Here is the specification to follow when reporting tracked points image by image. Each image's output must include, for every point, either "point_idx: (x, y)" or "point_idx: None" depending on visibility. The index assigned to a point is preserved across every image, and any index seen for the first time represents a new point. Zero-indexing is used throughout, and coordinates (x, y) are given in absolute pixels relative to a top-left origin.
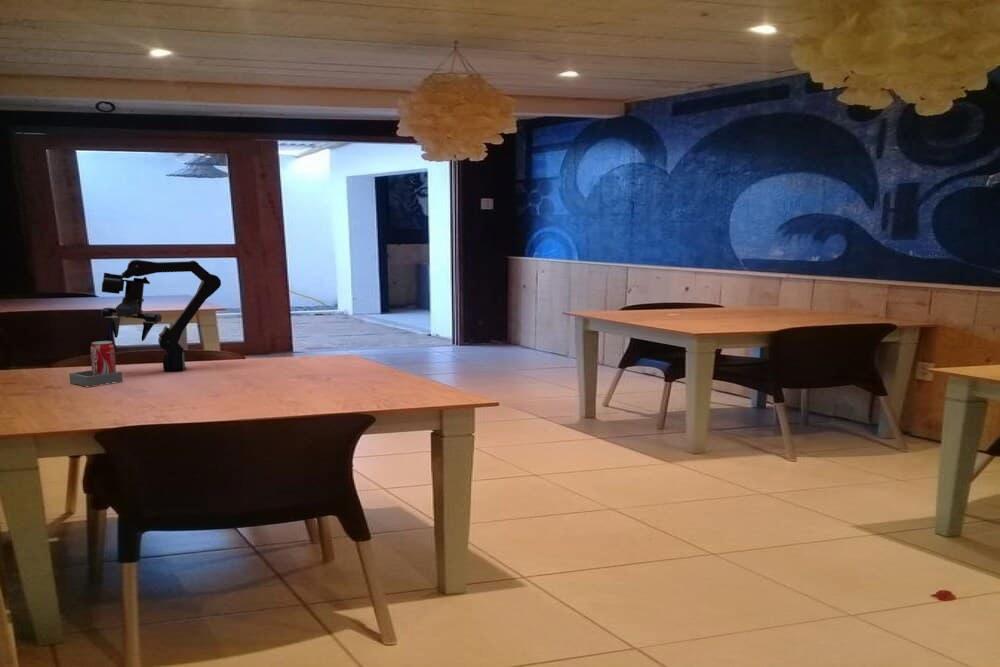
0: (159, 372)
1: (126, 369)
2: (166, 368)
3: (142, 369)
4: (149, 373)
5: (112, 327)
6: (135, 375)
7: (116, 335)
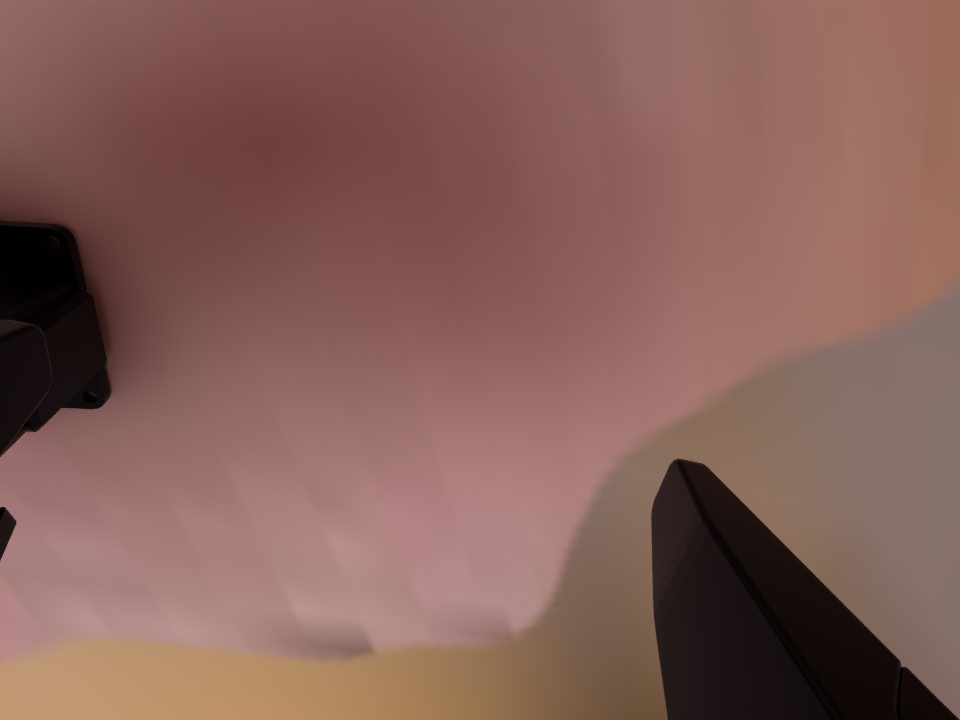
0: (113, 213)
1: (520, 449)
2: (44, 281)
3: (369, 422)
4: (205, 171)
5: (918, 691)
6: (327, 64)
7: (679, 505)
